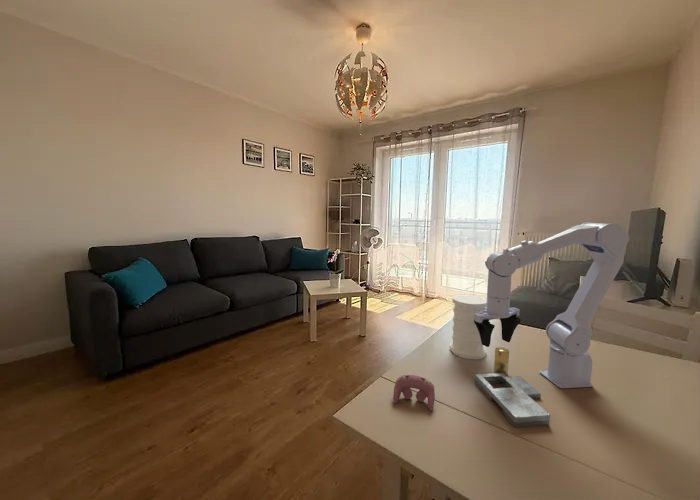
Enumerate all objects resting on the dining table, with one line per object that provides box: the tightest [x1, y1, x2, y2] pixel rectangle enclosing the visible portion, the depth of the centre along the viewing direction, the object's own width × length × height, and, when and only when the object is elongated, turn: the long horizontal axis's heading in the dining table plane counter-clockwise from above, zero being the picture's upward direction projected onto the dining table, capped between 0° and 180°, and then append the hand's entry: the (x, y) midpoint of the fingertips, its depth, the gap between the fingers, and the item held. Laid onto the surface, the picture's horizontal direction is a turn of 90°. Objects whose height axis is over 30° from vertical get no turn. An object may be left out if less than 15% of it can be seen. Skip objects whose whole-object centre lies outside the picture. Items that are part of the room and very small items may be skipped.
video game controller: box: [392, 374, 436, 412], centre depth 73 cm, size 10×5×7 cm, turn 71°
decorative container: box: [449, 294, 487, 360], centre depth 98 cm, size 12×12×18 cm
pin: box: [493, 346, 510, 377], centre depth 85 cm, size 4×4×7 cm
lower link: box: [474, 375, 542, 402], centre depth 77 cm, size 13×8×1 cm, turn 95°
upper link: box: [474, 372, 551, 428], centre depth 72 cm, size 8×17×2 cm, turn 5°
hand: (495, 343), depth 83 cm, fingers open, 7 cm apart
